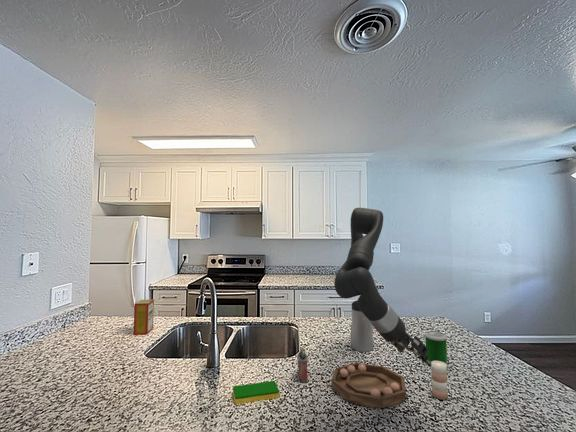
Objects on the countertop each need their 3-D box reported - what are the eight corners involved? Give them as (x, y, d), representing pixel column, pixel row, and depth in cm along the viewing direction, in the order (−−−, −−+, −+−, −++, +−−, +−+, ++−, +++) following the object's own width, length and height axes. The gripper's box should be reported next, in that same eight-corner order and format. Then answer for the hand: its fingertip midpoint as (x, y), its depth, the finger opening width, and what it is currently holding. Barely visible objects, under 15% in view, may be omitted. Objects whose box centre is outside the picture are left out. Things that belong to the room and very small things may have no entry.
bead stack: (429, 394, 96) (428, 362, 97) (438, 390, 98) (437, 359, 99) (441, 400, 93) (440, 367, 93) (450, 397, 95) (449, 364, 95)
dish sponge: (279, 398, 94) (279, 390, 94) (235, 405, 90) (235, 397, 91) (274, 387, 101) (274, 380, 101) (232, 393, 97) (232, 385, 97)
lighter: (296, 372, 111) (296, 345, 112) (305, 372, 111) (305, 344, 112) (299, 383, 103) (299, 353, 103) (309, 383, 103) (309, 353, 104)
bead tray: (320, 380, 105) (320, 371, 105) (370, 367, 116) (370, 359, 116) (365, 416, 85) (365, 405, 85) (421, 396, 95) (421, 386, 95)
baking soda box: (147, 334, 152) (148, 302, 153) (133, 335, 152) (134, 302, 152) (153, 328, 162) (154, 298, 163) (140, 329, 161) (141, 298, 162)
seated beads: (336, 375, 107) (336, 366, 107) (360, 369, 112) (360, 360, 112) (377, 404, 89) (377, 394, 89) (404, 395, 94) (404, 385, 94)
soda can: (449, 369, 114) (448, 337, 115) (428, 367, 116) (427, 335, 117) (443, 361, 122) (442, 330, 122) (423, 359, 123) (423, 329, 124)
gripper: (412, 316, 82) (440, 352, 86) (374, 305, 94) (401, 337, 99) (398, 339, 79) (429, 375, 83) (361, 325, 91) (389, 356, 96)
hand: (414, 354), depth 91 cm, fingers open, 8 cm apart
